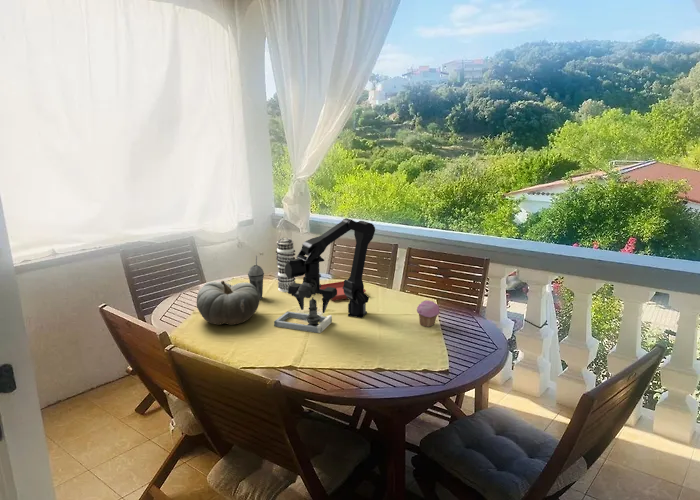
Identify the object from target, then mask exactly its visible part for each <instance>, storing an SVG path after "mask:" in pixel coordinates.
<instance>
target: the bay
mask: <svg viewBox="0 0 700 500" xmlns="http://www.w3.org/2000/svg"><path fill="white" fill-rule="evenodd" d="M308 315H309V314H308V313H303V312H302V313H301V312H295V311H285V312H284V313H283V314H282V315H280V316H279V317H278V318H276V319H275V320H274V321H273V326H274V327H278V328H282V329H283V328H285V329H290V330H295V331H296V330H297V331H302V332H303V331H304V332H311V333H317V334H321V333H322V332H323V331H325V329H326V328H328V327H329V325H330V324H332V322H333V317H332V316H333V315H331V314H329V315H327V316H324V315H319V316H320V317H321V318H320V321H319V322H318V324H319V325H317V326H310V325H308V324H302V323H295V322H289V321H286V320H287V319H289V318H291V319H299V320H306V321H307V319H306V316H308Z"/></svg>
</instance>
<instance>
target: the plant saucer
mask: <svg viewBox="0 0 700 500" xmlns="http://www.w3.org/2000/svg"><path fill="white" fill-rule="evenodd" d="M343 286H344V280H343V281H337V282H329V283H322V284H321V287H320V289H326V288H327V287H332V288H336V289H337V295H336V296H335V297H334V298H332V299H330V300H331V301H332V302H333V301H334V302H335V301H340V300H347V299H348V298H347V296H346V295H345V294H344V289H342V288H343ZM366 292H367V290H366V289H365V288H364V294H366Z"/></svg>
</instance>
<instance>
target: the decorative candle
mask: <svg viewBox="0 0 700 500" xmlns="http://www.w3.org/2000/svg"><path fill="white" fill-rule="evenodd" d="M276 244H277V247H276V250H275V253H276V254H275V255H276V257H275V258H276V259H275V260H277V261H276V266H277V268H278V272H277V288H278V289H277V290H278V291H279V292H282V293H288V288H289V286H291V285H292V284H294V283H296V277H293V278H288V277H287V276H286V273H285V266H286V264H287V260H290V259H291V260H293V259H296V257H294V256H296V253H295V252H296V250H295V248H294V240H292V238H290V237H281V238H279V239H278V240H277V241H276Z"/></svg>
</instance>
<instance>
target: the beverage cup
mask: <svg viewBox="0 0 700 500" xmlns="http://www.w3.org/2000/svg"><path fill="white" fill-rule="evenodd" d="M247 272H248V273H247V276H248V281H249V283H250V284H252V285H254V286H255V287H256V289H257V291H258V294H259V297H260V300H262V299H263V293H264V276H265V273H264V269H263V268H262V267H261V266H260V265H258V256H257V255H255V264H254V265H252V266H250V268H249V269H248V271H247Z"/></svg>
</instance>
